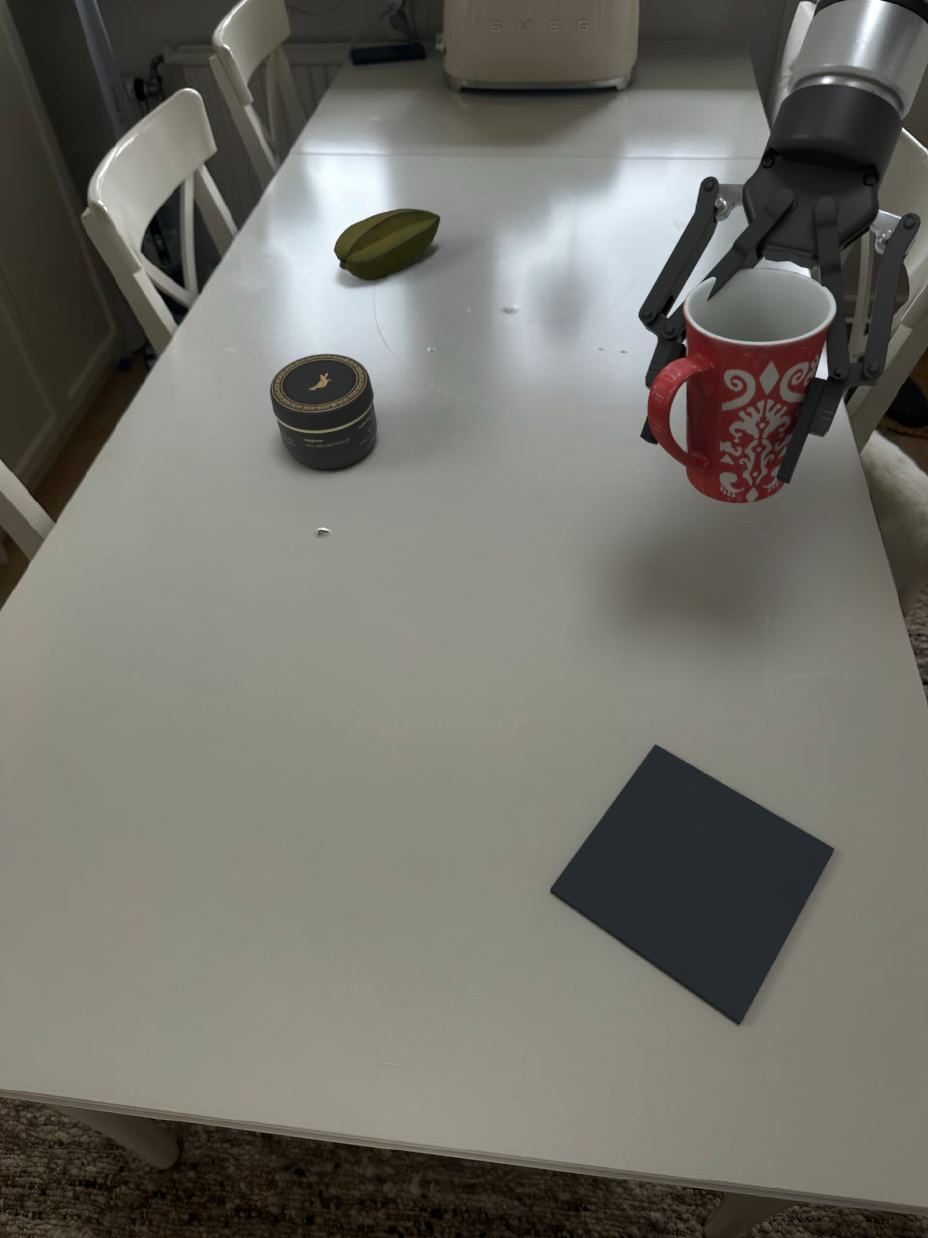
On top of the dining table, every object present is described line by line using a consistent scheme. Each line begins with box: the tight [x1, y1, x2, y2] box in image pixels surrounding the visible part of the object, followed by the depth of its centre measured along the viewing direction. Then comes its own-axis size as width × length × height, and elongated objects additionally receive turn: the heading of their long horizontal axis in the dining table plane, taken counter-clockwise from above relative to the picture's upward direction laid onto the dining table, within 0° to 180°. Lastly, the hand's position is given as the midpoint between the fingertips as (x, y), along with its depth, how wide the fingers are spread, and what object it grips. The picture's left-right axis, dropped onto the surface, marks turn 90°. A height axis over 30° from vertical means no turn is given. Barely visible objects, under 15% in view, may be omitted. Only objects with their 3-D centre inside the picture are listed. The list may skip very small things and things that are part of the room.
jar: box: [269, 353, 378, 471], centre depth 87 cm, size 10×10×8 cm
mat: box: [549, 743, 835, 1025], centre depth 59 cm, size 14×14×1 cm
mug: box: [646, 267, 837, 504], centre depth 58 cm, size 13×9×14 cm
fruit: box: [333, 207, 441, 281], centre depth 109 cm, size 11×12×7 cm
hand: (714, 459), depth 58 cm, fingers closed on mug, 8 cm apart
